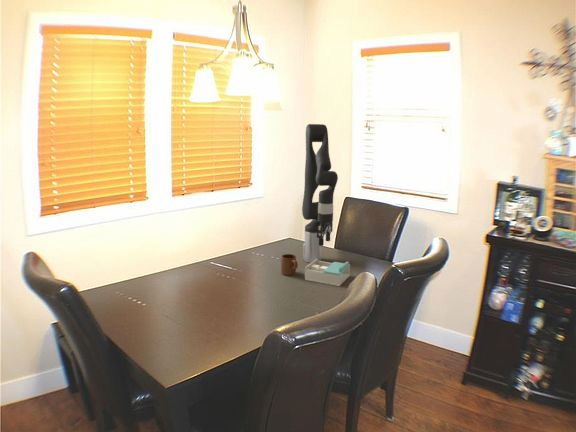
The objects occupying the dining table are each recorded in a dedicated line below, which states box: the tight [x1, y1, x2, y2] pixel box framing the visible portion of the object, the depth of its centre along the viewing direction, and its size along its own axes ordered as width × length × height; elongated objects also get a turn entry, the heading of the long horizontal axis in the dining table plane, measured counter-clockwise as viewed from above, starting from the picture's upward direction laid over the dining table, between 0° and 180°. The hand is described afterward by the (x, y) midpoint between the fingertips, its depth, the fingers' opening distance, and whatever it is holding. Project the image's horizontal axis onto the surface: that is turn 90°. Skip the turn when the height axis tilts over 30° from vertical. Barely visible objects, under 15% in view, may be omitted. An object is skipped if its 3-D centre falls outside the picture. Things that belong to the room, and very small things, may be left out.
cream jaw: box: [319, 266, 328, 272], centre depth 226 cm, size 4×4×4 cm
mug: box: [280, 253, 299, 277], centre depth 228 cm, size 12×8×9 cm, turn 30°
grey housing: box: [304, 259, 351, 287], centre depth 225 cm, size 18×15×6 cm
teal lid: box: [323, 261, 351, 275], centre depth 222 cm, size 8×15×3 cm, turn 154°
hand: (324, 243), depth 222 cm, fingers open, 8 cm apart
